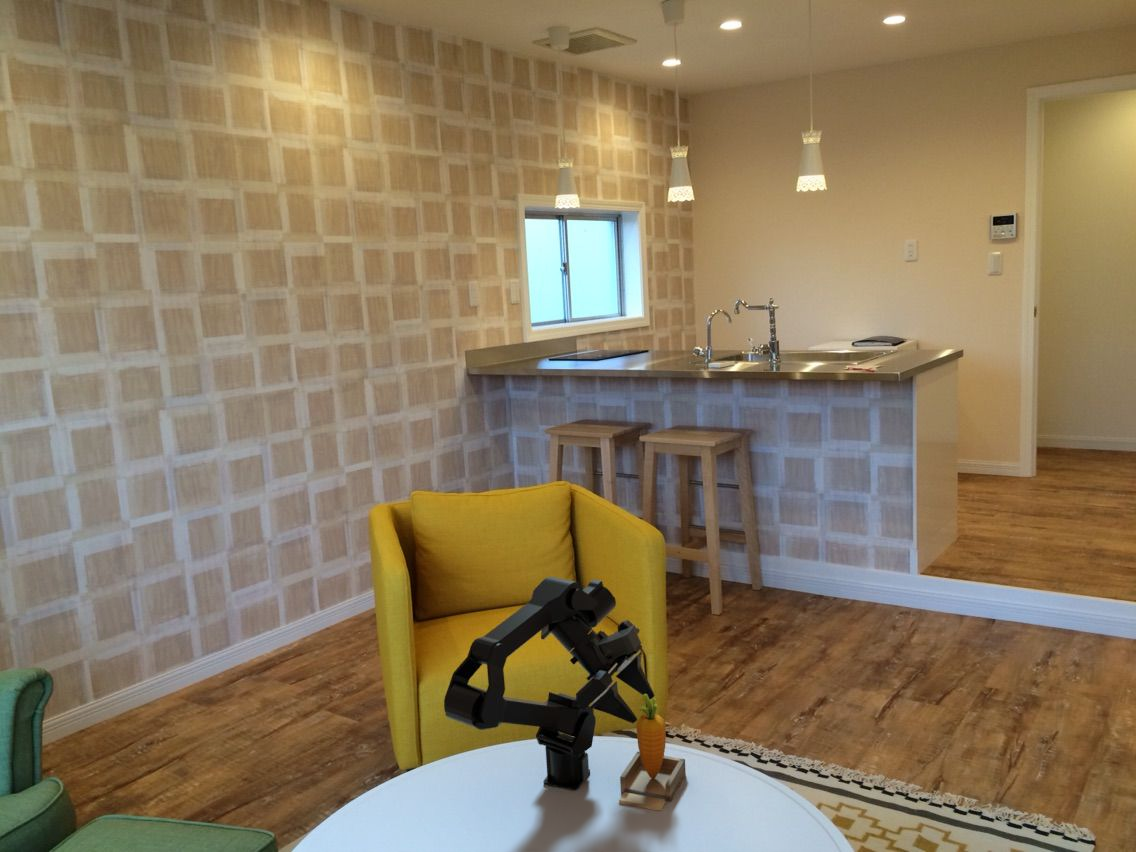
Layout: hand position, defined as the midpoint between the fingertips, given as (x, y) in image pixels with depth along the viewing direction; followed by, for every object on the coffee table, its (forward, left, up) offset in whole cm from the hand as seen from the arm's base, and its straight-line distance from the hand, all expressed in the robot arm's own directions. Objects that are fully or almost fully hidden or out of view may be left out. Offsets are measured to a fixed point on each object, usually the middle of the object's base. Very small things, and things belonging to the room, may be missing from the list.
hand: (644, 709), depth 158 cm
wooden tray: (+1, -1, -14) cm, 14 cm away
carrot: (+1, 0, -13) cm, 13 cm away
